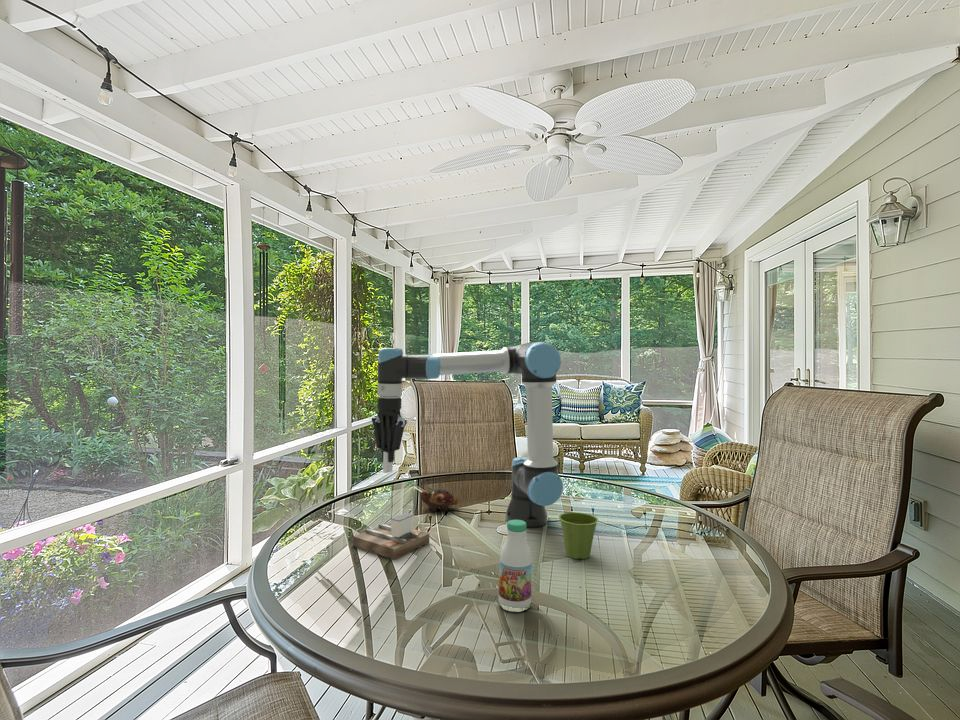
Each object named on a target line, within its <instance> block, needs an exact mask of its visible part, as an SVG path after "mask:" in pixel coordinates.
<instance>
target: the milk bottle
mask: <svg viewBox="0 0 960 720" xmlns="http://www.w3.org/2000/svg"><path fill="white" fill-rule="evenodd" d="M506 523H507V524H506V528H507V529H506V532H507V535H506V540H505V541H504V544H503V546H502V548H501V550H500V554H499V555H500V556H499V573H498V574H499V575H498V577H499V578H498V603H499V602H500V603H501V604H502V605H504V606H507V607H512V608H521V607H525V606H528V605H529V604H530V603H531V604H532V580H533V579H532V577H533V576H532V573H533V572H532V568H533V561H532V560H533V559H532V552H531V549H530V546H529V543H528V541H527V538H526V533H527V527H526V522H525V521H522V520H510V521H508V522H506Z"/></svg>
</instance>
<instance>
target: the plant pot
mask: <svg viewBox="0 0 960 720" xmlns="http://www.w3.org/2000/svg"><path fill="white" fill-rule="evenodd" d="M558 519H559V520H560V525H561V529H562V534H563V535H562V537H563V543H564V544H563V545H564V552H565V555H566V556H567V557H569V558H571V559H574V560H579V559H582V560H587V559H588V558H589V557H590V556H591V552H592V546H593V542H594V541H593V540H594V537H595V536H594V534H595V530H596V527H597V524H598V522H599V518H598V517H597V516H595V515H592V514H589V513H584V512H575V511H574V512H573V511H572V512H564V513H561V514H560V515H558Z"/></svg>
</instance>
